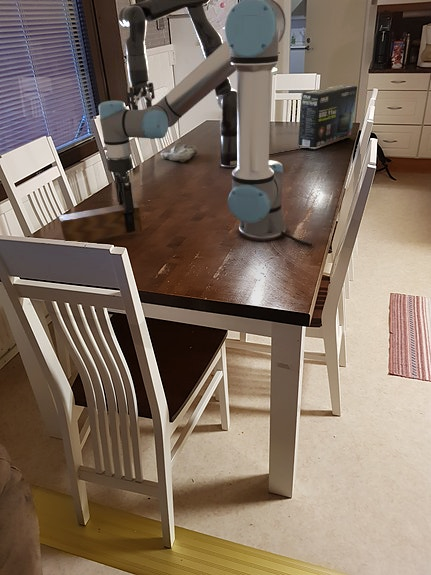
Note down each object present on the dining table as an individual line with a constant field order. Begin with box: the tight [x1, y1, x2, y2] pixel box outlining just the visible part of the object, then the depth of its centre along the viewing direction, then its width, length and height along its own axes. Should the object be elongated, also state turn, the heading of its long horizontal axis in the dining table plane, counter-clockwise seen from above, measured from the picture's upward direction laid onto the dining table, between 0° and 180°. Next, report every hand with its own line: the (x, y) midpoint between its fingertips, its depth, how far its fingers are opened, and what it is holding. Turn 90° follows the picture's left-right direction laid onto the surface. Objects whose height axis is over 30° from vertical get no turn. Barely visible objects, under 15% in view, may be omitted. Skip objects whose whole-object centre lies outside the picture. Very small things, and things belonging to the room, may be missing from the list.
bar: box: [58, 201, 143, 243], centre depth 145 cm, size 24×5×8 cm, turn 113°
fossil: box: [160, 142, 199, 163], centre depth 229 cm, size 18×11×15 cm
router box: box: [297, 84, 358, 151], centre depth 238 cm, size 36×11×27 cm, turn 134°
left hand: (142, 113), depth 181 cm, fingers open, 8 cm apart
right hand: (128, 228), depth 149 cm, fingers closed on bar, 5 cm apart
